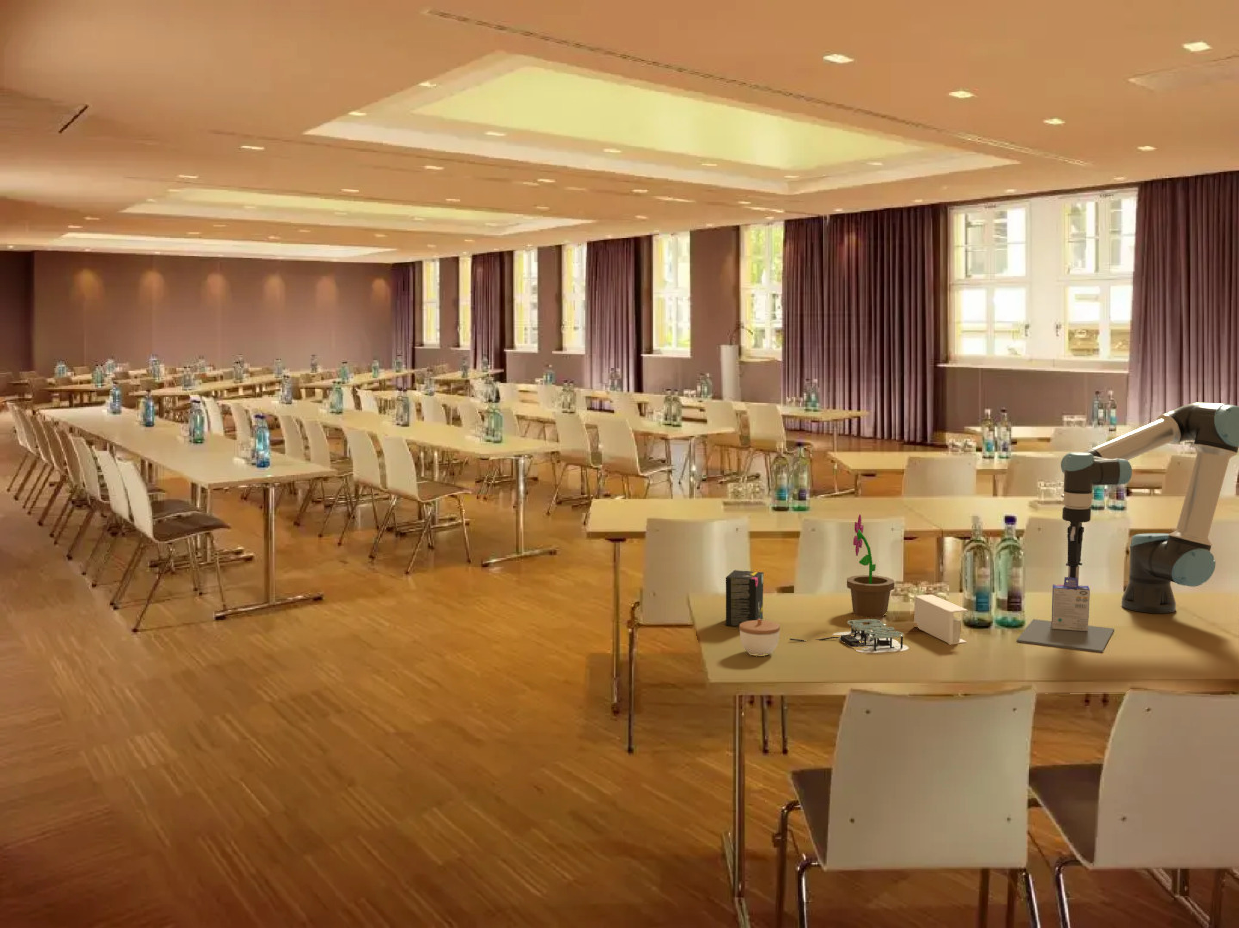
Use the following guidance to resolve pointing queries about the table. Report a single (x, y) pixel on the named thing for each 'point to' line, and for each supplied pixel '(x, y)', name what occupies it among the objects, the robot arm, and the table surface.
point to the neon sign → (870, 637)
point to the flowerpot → (868, 584)
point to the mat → (1066, 636)
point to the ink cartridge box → (1070, 606)
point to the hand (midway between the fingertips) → (1072, 587)
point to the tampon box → (744, 597)
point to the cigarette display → (938, 618)
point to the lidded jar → (759, 636)
